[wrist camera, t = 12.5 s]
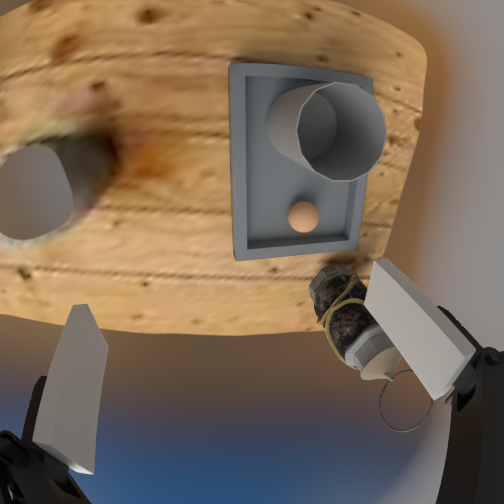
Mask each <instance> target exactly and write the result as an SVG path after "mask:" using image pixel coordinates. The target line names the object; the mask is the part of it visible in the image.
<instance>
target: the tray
mask: <svg viewBox="0 0 504 504" xmlns="http://www.w3.org/2000/svg"><path fill="white" fill-rule="evenodd" d="M329 82H341V83H348V84H355V85H357V86H359V87H360V88H362V89H363V90H365V91H366V92H367V93H369V94H370V95H371V96H373V78H369V77H365V76H360V75H355V74H350V73H344V72H338V71H332V70H326V69H319V68H311V67H302V66H292V65H279V64H260V63H231V64H230V65H229V67H228V83H229V142H230V180H231V210H232V237H233V253H234V257H235V261H244V260H254V259H264V258H275V257H285V256H295V255H305V254H314V253H324V252H334V251H343V250H353V249H357V244H358V238H359V232H360V226H361V220H362V213H363V206H364V199H365V191H366V183H367V174H366V175H364V176H362V177H360V178H358V179H356V180H354V181H352V182H332V181H330V180H328V179H326V178H324V177H322V176H320V175H318V174H316V173H314V172H312V171H311V170H309V169H307V168H306V167H304V166H302V165H300V164H299V163H297V162H295V161H293V160H292V159H290V158H288V157H286V156H284V155H283V154H281V153H279V152H278V150H277V149H276V148H275V147H274V146H273V144H272V143H271V142H270V141H269V138H268V134H267V130H266V127H265V121H266V116H267V112H268V107H269V106H270V105H271V104H272V103H273V101H274V100H275V99H276V98H277V96H278V95H280V94H282V93H284V92H286V91H289V90H291V89H294V88H299V87H304V86H310V85H316V84H322V83H329ZM301 201H306V202H310V203H312V204H313V205H314V206H315V207H316V208H317V210H318V212H319V222H318V224H317V226H316V227H315V228H314V229H313V230H311V231H309V232H298V231H296V230H295V229H293V228H292V226H291V225H290V223H289V220H288V213H289V210H290V208H291V207H292V206H293V205H294V204H296V203H297V202H301Z"/></svg>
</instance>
